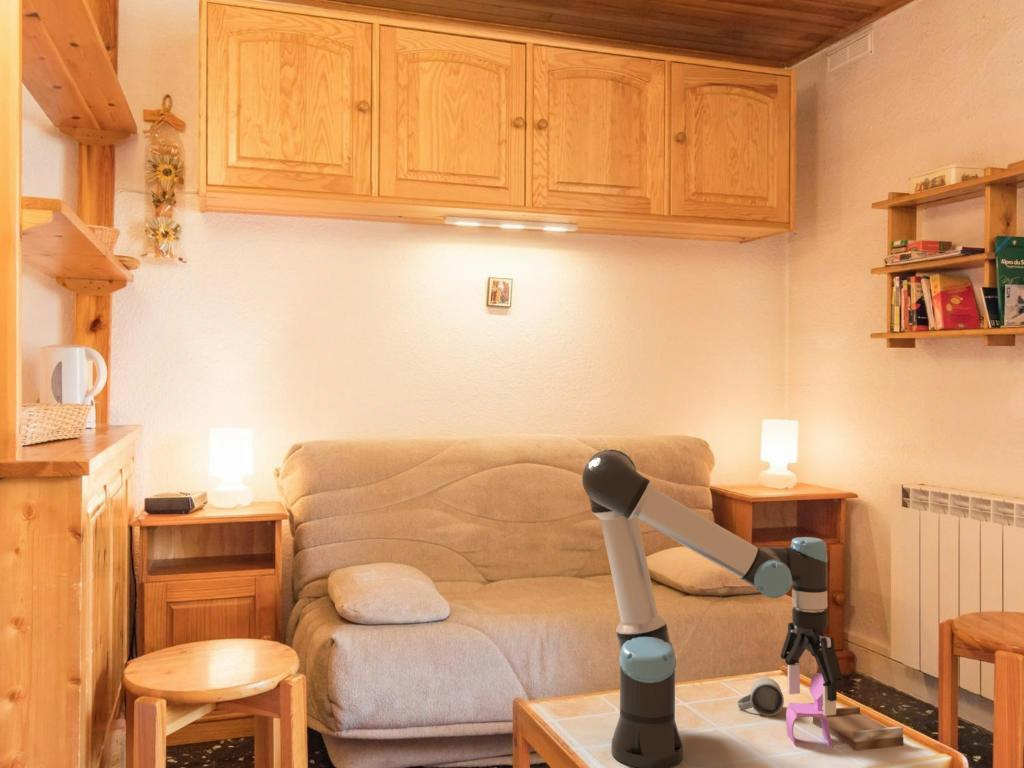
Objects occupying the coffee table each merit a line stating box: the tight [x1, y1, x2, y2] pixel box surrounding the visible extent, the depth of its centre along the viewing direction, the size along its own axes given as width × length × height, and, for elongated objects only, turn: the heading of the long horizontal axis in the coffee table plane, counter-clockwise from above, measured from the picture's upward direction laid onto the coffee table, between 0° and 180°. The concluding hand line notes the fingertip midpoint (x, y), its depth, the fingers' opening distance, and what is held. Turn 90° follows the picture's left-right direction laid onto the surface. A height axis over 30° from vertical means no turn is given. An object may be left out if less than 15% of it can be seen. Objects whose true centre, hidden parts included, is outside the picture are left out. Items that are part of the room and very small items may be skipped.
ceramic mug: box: [736, 676, 785, 717], centre depth 214 cm, size 11×8×8 cm
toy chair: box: [785, 672, 834, 748], centre depth 195 cm, size 8×9×15 cm
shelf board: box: [812, 705, 904, 752], centre depth 199 cm, size 12×16×4 cm
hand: (811, 703), depth 195 cm, fingers open, 13 cm apart
